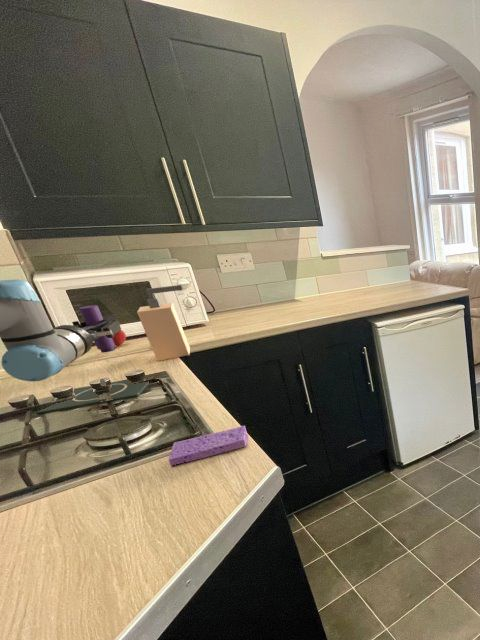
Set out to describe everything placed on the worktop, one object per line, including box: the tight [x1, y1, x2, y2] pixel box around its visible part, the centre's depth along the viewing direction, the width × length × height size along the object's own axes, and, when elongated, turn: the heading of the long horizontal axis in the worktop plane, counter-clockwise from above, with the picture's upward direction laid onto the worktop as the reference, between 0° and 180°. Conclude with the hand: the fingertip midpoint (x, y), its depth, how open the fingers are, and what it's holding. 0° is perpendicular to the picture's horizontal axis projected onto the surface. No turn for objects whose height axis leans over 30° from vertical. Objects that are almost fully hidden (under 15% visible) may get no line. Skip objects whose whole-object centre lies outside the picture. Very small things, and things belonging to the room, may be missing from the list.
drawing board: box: [36, 375, 155, 415], centre depth 112 cm, size 20×15×1 cm
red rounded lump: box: [112, 329, 127, 347], centre depth 151 cm, size 6×6×8 cm
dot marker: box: [78, 304, 116, 353], centre depth 110 cm, size 4×4×12 cm
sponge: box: [168, 425, 248, 466], centre depth 83 cm, size 7×13×2 cm, turn 119°
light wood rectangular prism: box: [136, 284, 191, 362], centre depth 137 cm, size 13×9×22 cm
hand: (104, 320), depth 114 cm, fingers closed on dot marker, 4 cm apart
